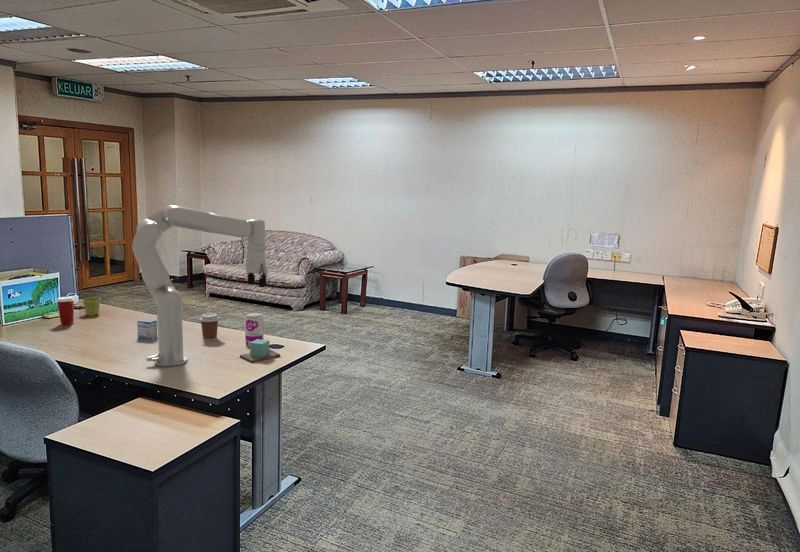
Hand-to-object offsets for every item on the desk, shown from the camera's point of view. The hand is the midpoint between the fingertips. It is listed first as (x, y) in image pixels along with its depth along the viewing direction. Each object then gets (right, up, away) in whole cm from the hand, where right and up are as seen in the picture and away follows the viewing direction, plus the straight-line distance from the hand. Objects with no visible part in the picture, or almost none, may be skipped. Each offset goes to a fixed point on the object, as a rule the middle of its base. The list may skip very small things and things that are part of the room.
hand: (256, 285), depth 240 cm
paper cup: (-110, -21, +39) cm, 118 cm away
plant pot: (-109, -18, +61) cm, 126 cm away
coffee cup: (-28, -27, +21) cm, 44 cm away
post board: (+3, -32, -4) cm, 32 cm away
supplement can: (-4, -29, +13) cm, 32 cm away
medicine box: (-58, -26, +19) cm, 67 cm away
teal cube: (+3, -31, -4) cm, 31 cm away
